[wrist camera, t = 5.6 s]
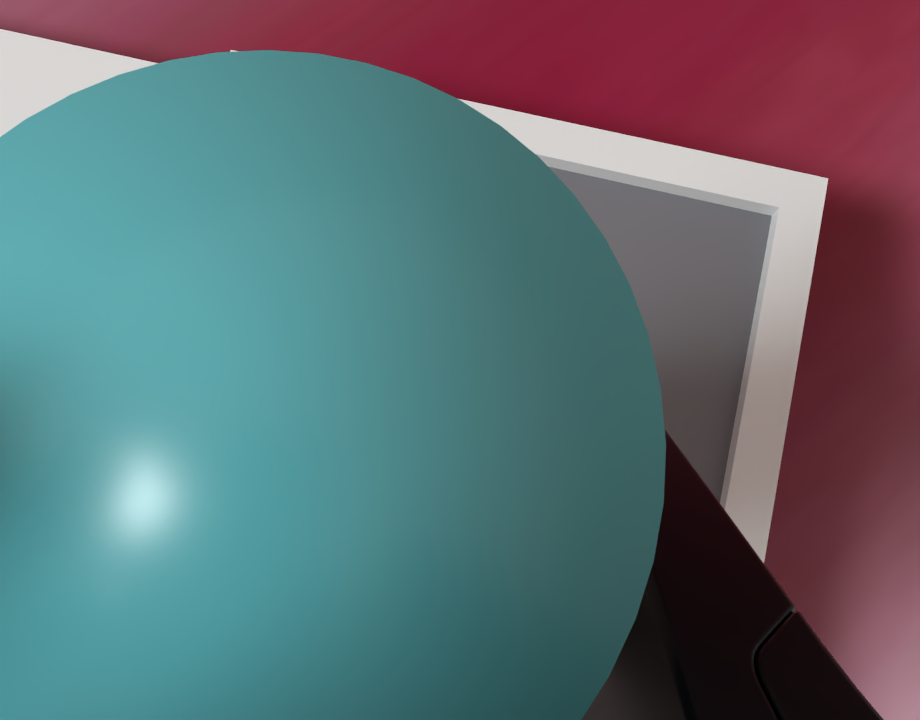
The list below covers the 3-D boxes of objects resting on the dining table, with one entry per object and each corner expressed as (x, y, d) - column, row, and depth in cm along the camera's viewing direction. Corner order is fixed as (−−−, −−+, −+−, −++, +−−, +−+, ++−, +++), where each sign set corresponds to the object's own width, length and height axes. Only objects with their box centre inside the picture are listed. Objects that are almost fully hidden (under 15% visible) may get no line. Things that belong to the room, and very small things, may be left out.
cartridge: (583, 592, 14) (817, 704, 4) (313, 699, 14) (-103, 1082, 4) (480, 334, 15) (479, -51, 5) (228, 428, 15) (-260, 204, 5)
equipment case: (627, 1022, 19) (666, 1149, 15) (-409, 706, 21) (-613, 743, 17) (769, 240, 23) (828, 178, 19) (-107, 45, 25) (-216, -47, 21)
